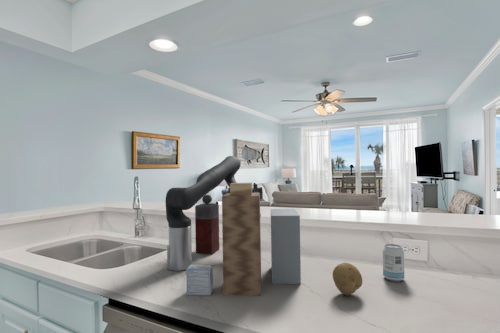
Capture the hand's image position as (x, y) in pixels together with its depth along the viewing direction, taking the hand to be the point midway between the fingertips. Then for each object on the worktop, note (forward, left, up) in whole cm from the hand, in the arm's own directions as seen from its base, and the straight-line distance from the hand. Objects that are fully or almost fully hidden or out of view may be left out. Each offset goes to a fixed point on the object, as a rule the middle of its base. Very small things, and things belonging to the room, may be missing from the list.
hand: (244, 185), depth 108 cm
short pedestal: (+15, +2, -35) cm, 38 cm away
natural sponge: (+34, -15, -35) cm, 51 cm away
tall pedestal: (0, -10, -35) cm, 36 cm away
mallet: (0, -5, -3) cm, 6 cm away
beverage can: (+54, -2, -35) cm, 64 cm away
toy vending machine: (-21, +33, -35) cm, 53 cm away
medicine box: (-14, -15, -35) cm, 40 cm away
